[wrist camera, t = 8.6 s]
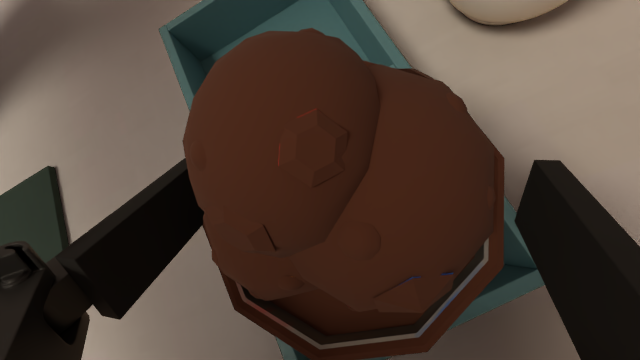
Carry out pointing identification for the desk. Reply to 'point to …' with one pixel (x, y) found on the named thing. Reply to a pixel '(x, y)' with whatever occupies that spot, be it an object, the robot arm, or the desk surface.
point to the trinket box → (504, 10)
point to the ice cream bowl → (343, 196)
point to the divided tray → (372, 46)
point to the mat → (34, 215)
